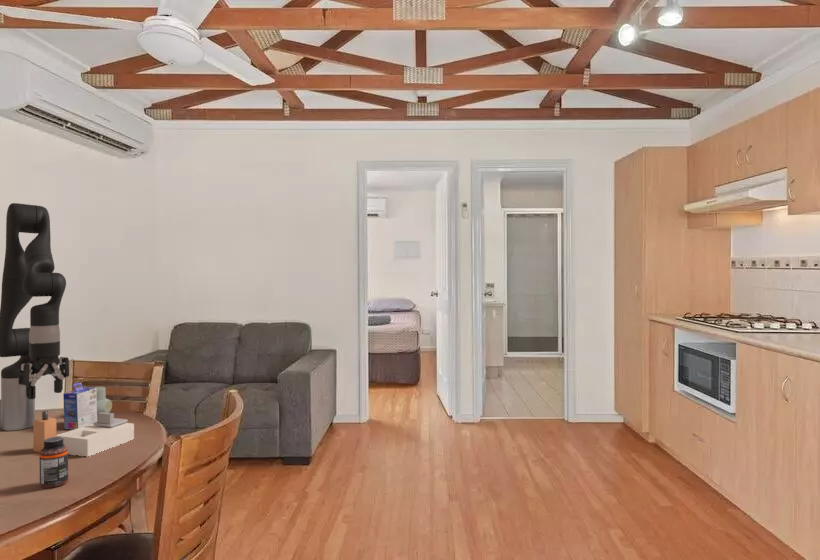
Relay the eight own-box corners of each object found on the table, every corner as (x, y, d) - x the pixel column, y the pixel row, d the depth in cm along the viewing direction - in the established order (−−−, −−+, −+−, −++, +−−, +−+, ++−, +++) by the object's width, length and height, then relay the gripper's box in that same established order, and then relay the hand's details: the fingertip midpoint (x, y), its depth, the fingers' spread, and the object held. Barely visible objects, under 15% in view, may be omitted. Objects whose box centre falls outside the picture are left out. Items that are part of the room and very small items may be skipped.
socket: (55, 452, 158) (55, 435, 158) (103, 435, 174) (103, 420, 174) (87, 457, 154) (87, 439, 154) (133, 439, 171) (133, 423, 171)
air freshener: (102, 419, 194) (102, 391, 194) (77, 419, 193) (77, 391, 193) (114, 411, 205) (114, 384, 205) (90, 412, 204) (90, 385, 203)
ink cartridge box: (83, 421, 191) (83, 380, 191) (98, 421, 190) (98, 380, 190) (62, 429, 181) (62, 386, 181) (78, 430, 180) (78, 386, 180)
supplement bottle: (48, 480, 137) (48, 435, 137) (73, 479, 138) (73, 435, 138) (34, 489, 131) (34, 442, 131) (60, 488, 132) (60, 442, 132)
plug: (33, 451, 159) (33, 412, 159) (45, 447, 163) (45, 409, 162) (44, 452, 158) (44, 413, 158) (56, 448, 161) (56, 410, 161)
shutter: (93, 425, 167) (93, 413, 167) (110, 419, 173) (110, 408, 173) (111, 426, 165) (111, 415, 165) (127, 421, 171) (127, 410, 171)
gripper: (57, 337, 168) (57, 389, 168) (11, 342, 154) (11, 400, 154) (76, 338, 165) (76, 391, 166) (31, 344, 152) (31, 402, 152)
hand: (44, 395), depth 160 cm, fingers open, 8 cm apart
